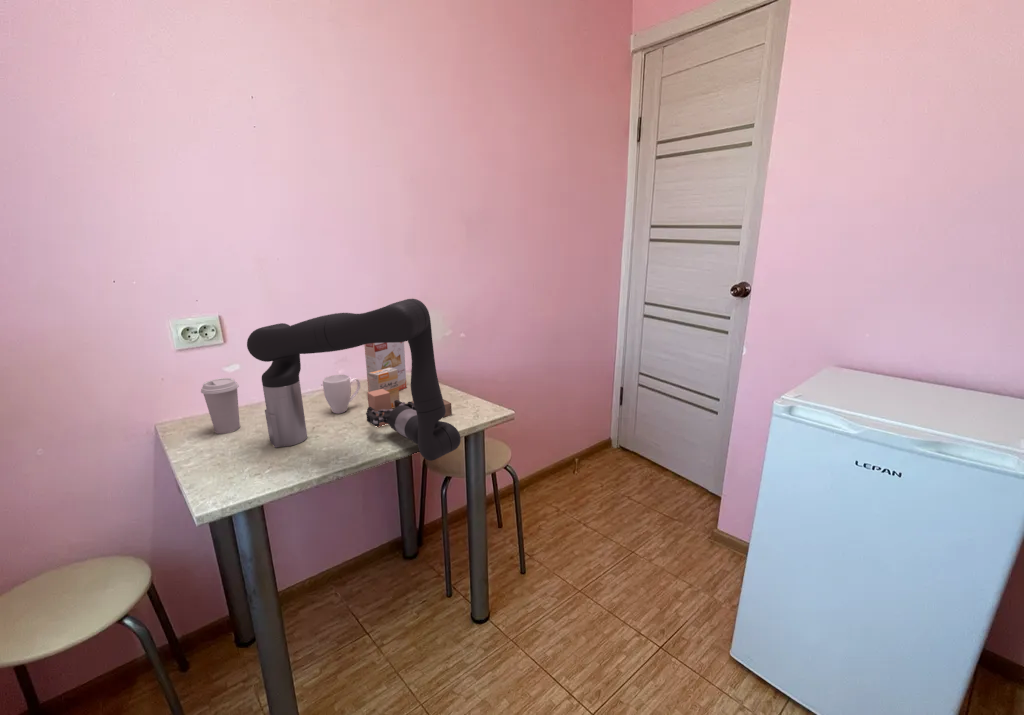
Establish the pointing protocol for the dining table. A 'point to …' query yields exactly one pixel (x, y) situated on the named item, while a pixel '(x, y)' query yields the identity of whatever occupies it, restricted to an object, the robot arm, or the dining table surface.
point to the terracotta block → (379, 401)
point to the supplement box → (386, 382)
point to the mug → (339, 391)
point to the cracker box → (386, 360)
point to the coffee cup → (222, 404)
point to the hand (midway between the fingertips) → (382, 406)
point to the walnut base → (446, 408)
